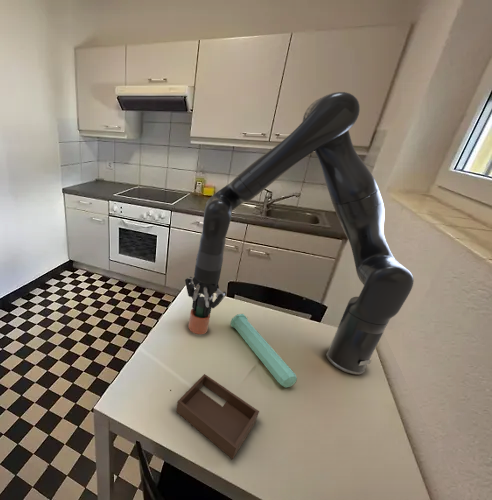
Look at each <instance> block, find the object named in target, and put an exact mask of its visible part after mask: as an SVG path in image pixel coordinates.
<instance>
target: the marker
mask: <svg viewBox="0 0 492 500" xmlns="http://www.w3.org/2000/svg"><path fill="white" fill-rule="evenodd" d="M205 306H206V305H205V300H204V296H200V297H198V299H197V306H196V313H195V316H196V317H199V318H205V316H203V314H204V308H205Z"/></svg>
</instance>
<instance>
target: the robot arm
mask: <svg viewBox="0 0 492 500" xmlns="http://www.w3.org/2000/svg"><path fill="white" fill-rule="evenodd" d="M360 110H361V106H360V103H359V100H358V98H357V97H356V96H355V95H354V94H353V93H352V94H351V93H349V92H345V91H336V92H331V93H329V94H326V95H324V96H322V97H320V98H318V99H316V100H314V101H313V102H312V103H310V105H309V106H308V107H307V108H306V109H305V111H304V113H303V116H302V122H301V123H300V124H299V125H298V126H297V127H296V128H295V129H293V131H291V133H290V134H289V135H287V137H285V138H284V139H282V141H280V142H279V143H278V144H277V145H275V146H274V147H273V148H271V149H269V150H268V151H267V152H266V153H264V154H263V155H261V156H260V157H258V159H256V160H254V161H253V162H252V163H251V164H250V165H248V166H247V167H245V169H244V170H242V171H241V172H240V173H239V174H238V175H237V176H236V177H235V178H233V180H231V182H229V183H227V185H225V186H224V187H222V188H221V189H219V190H217V192H215V193H214V194H213V195H212V196H210V197H209V198H208V199H207V201H206V203H205V205H204V212H203V222H202V223H203V224H202V231H201V235H200V238H199V243H198V244H199V246H198V251H197V255H196V259H195V267H194V272H193V273H194V274H193V277H192V276H189V277H187V278H185V280H184V282H185V287H186V293H187V296H188V297H189V298H192V305H191V308H192V309H193V310H194V311H196V306H197V299H198V297H201V295H203V297H204V300H205V305H206V306H205V308H204V314H203V316H205V317H206V316H208V315H209V314H210V315H211V312H212V309H215V308H216V307H218V306H219V304H220V303H221V302H222V301H223V300H224V298H225V297H226V296H227V292H226V291H222V290H221V289H220V285H219V282H220V278H221V273H222V268H223V262H224V251H225V247H226V242H227V241H226V239H227V234H228V231H229V227H230V224H231V220H232V215H233V211H234V210H235V209H236V208H238V207H239V206H241V205H242V204H243V203H249V202H250V201H251V200H253V199H255V198H256V197H257V196H259V194H261V193H262V192H263V191H264V190H266V189H267V188H268V187H269V186H270V185H272V184H273V183H274V182H275V181H276V180H278V179H279V178H280V177H282V176H283V175H284V174H285V173H286V172H288V171H289V170H290V169H292V168H293V167H294V166H295V165H296V164H298V163H299V162H301V161H302V160H303V159H305V158H307V157H308V156H309V155H311V154H313V153H315V155H316V157H317V159H318V161H319V165H320V167H321V170H322V171H321V172H322V175H323V177H324V181H325V184H326V188H327V191H328V194H329V198H330V201H331V203H332V206H333V209H334V212H335V214H336V217H337V219H338V221H339V224H340V226H341V228H342V230H343V232H344V235H345V236H346V238H347V240H348V242H349V245H350V248H351V252H352V256H353V262H354V266H355V271H356V275H357V278H358V279H359V281H360V282H361V283H362V285H363V287H362V289H361V291H360V293H359V295H358V296H353V297H351V298H350V299H349V300H348V302H347V305H346V307H345V309H344V312H343V314H342V317H341V319H340V321H339V324H338V326H337V329H336V331H335V333H334V336H333V338H332V340H331V343H330V346H329V347H328V350H327V351H326V355H325V356H326V359H327V360H328V361H329V363H330V364H331V365H332V366H333V367H335V368H336V369H338V370H340V371H342V372H343V373H347V374H350V375H354V376H355V375H363V374H364V373H365V371H366V369H367V365H370V363H371V361H372V359H371V358H372V356H373V354H374V352H375V351H376V349H377V346H378V344H379V342H380V340H381V338H382V336H383V334H384V332H385V330H386V328H387V326H388V324H389V323H390V320H391V319H392V318H394V317H396V315H397V314H398V313H399V312H400V310H401V309H402V307H403V305H404V303H405V302H406V300H407V299H408V297H409V296H410V294H411V291H412V290H413V287H414V282H415V281H414V276H413V274H412V272H411V271H410V270H409V269H408V268H407V267H405V265H403V264H402V263H400V262H399V261H398V259H396V258H395V256H394V255H393V252H392V251H391V249H390V246H389V244H388V242H387V239H386V237H385V230H384V229H385V227H384V226H385V215H386V214H385V205H384V201H383V200H384V199H383V198H382V195H381V191H380V187H379V185H378V183H377V180H376V179H375V177H374V175H373V174H372V171H370V169H369V168H368V166H367V165H366V164H365V162H364V161H363V159H361V156H359V154H358V152H357V151H356V149H355V147H354V145H353V141H352V138H351V134H350V129H352V128H353V126H354V125H355V124H356V123H357V120H358V118H359V116H360ZM215 293H216V295H215ZM214 297H216V298H215V299H214Z"/></svg>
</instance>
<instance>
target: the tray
mask: <svg viewBox="0 0 492 500" xmlns="http://www.w3.org/2000/svg"><path fill="white" fill-rule="evenodd" d="M203 386H204V387H206V388H207V389H209V390H210V391H211V392H212V393H214V394H216V395H217V396H218V397H220V398H221V399H223V401H225V403H223V405H221V404H220V403H218V402H217V401H216V400H214V399H212V398H211V396H208V395H207V394H206V393H205V392H203V391H202V390H201V388H202V387H203ZM175 412H176V413H177V414H178V415H180V417H182V418H183V419H184V420H185V421H187V422H188V423H189V424H190V425H191V426H193V427H194V428H195V429H196V430H197V431H199V432H200V433H201V434H202V435H203V436H205V438H206V439H208V440H209V441H210V442H212V443H213V444H214V445H215V446H216V447H217V448H219V449H220V450H221V452H223V453H225V454H226V455H227V456H228V457H229V458H230V459H232V460H234V459H235V457H236V455H237V453H238V452H239V450H240V449H241V447H242V445H243V444H244V442H245V440H246V439H247V437H248V435H249V434H250V432H251V431H252V429H253V427H254V425H256V423H257V419H258V417H259V414H260V410H258V409H257V408H255V407H254V406H252V405H251V404H249V403H248V402H246V401H245V400H244V399H242V398H241V397H239V396H238V395H236V394H235V393H233V392H232V391H230V390H229V389H227V388H226V387H225V386H223V385H221V384H220V383H218V382H217V381H216V380H214V379H212V378H211V377H210V376H209V375H207V374H206V373H203V374H202V375H201V377H199V378H198V380H197V381H196V382H195V383H194V384H193V385H192V386H191V387H190V388H189V389H187V391H186V392H185V393H184V394H183V395H182V396H181V397H180V398H179V399H178V400H177V404H176V410H175Z"/></svg>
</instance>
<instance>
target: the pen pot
mask: <svg viewBox="0 0 492 500" xmlns="http://www.w3.org/2000/svg"><path fill="white" fill-rule="evenodd" d="M195 313H196V311H194V310H193V308H192V309H190V313H189V318H188V324H187V325H188V326H187V327H188V329H189V331H190V332H191V333H193V334H196V335H205V334H206V333H207V332H208V330H209V325H210V319H211V313H210V314H209V315H208V316H206V317H205V318H199V317H196V316H195Z"/></svg>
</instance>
